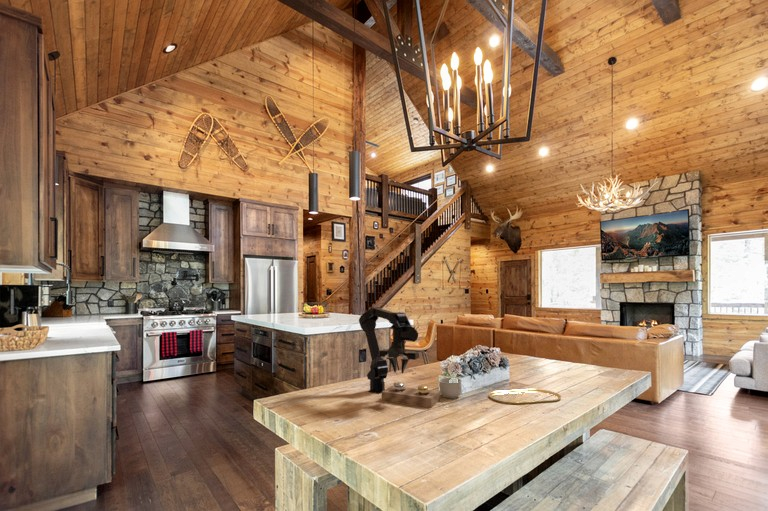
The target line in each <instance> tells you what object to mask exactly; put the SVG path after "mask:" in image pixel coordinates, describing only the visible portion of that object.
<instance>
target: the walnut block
mask: <svg viewBox="0 0 768 511" xmlns="http://www.w3.org/2000/svg"><path fill="white" fill-rule="evenodd" d="M440 394H441V393H440V391H439V390H438V391H436V390H429V389H427V395H419V389H418V388H415V387H414V388H413V387H405V386H403V392H396V391H395V386H394V385H391V386H390V387H387V388H386V389H385V390H384V391H382V392H381V401H382V402H388V403H396V404H403V405H408V406H409V405H410V406H417V407H422V406H423V408H428V407H429V408H428V409H431V408H433V407H434V406H436V404H438V403H439V402H440V401H441V400H440V397H441V396H440Z"/></svg>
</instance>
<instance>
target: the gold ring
mask: <svg viewBox="0 0 768 511" xmlns="http://www.w3.org/2000/svg"><path fill="white" fill-rule="evenodd" d="M521 392H525V393H540V394H541V393H542V394H547V393H549V394H548V395H551V394H553V395H552V396H554V395H555V396H554V397H556V396H557V397H558V398H557V397H556V398H555V399H543V400H531V401H530V400H528V401H505V400H500V399H497V398H493V396H495V395H504V394H508V393H509V394H518V393H519V394H522V393H521ZM509 394H508V395H509ZM488 397H489V398H490V400H492V401H494V402H497V403H501V404H509V405H528V404H540V403H552V402H553V403H554V401H555V402H558V401H560V400H561V398H562V395H561V394H560V393H557V392H555V391H551V390H546V389H540V388H539V389H537V388H526V389H525V388H524V389H510V390H495V391H491V392H489V393H488Z"/></svg>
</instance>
